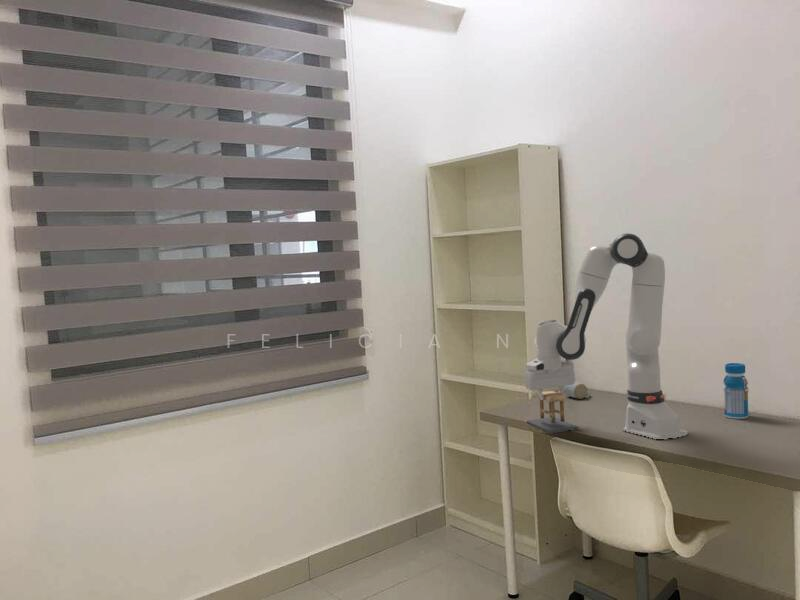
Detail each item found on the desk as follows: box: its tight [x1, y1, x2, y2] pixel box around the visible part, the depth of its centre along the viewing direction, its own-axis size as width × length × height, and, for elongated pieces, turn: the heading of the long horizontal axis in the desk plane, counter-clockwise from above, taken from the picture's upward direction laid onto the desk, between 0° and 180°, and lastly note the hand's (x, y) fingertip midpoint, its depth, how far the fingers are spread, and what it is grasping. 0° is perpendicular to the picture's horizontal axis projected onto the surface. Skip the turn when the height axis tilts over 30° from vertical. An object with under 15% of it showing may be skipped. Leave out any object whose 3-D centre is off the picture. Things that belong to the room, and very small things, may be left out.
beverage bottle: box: [722, 362, 750, 420], centre depth 243 cm, size 8×8×20 cm
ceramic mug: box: [564, 380, 592, 400], centre depth 290 cm, size 11×8×8 cm
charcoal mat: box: [526, 416, 580, 435], centre depth 246 cm, size 18×12×1 cm, turn 18°
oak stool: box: [537, 390, 566, 423], centre depth 246 cm, size 10×6×10 cm, turn 18°
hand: (551, 398), depth 246 cm, fingers closed on oak stool, 6 cm apart
